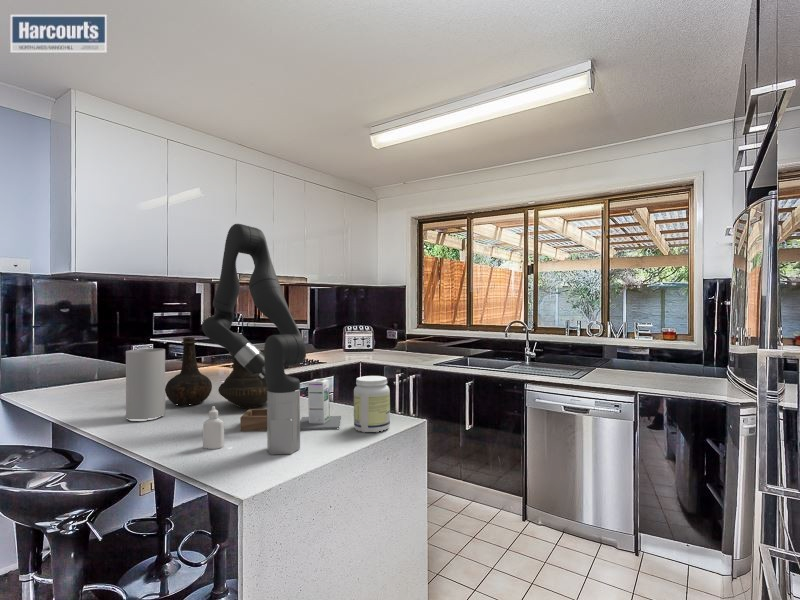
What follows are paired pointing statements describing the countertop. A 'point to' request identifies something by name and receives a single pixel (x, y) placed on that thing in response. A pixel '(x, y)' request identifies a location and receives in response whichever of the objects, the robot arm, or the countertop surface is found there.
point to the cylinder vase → (145, 383)
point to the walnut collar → (254, 420)
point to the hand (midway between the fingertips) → (285, 391)
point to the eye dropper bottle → (213, 431)
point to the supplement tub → (371, 404)
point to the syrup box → (318, 401)
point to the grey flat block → (330, 424)
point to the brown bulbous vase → (188, 379)
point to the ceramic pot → (243, 387)
